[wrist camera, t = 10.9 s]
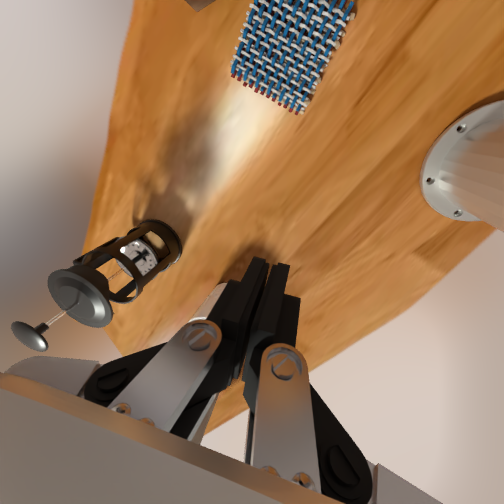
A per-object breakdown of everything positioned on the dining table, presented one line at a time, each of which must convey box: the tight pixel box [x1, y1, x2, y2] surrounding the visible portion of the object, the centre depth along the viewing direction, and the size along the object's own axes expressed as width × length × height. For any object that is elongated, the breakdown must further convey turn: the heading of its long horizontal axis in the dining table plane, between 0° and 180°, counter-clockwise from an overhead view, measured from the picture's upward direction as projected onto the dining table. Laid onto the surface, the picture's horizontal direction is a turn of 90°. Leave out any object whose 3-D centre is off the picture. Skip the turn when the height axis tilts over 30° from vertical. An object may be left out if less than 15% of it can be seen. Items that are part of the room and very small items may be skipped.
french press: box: [11, 219, 182, 352], centre depth 33 cm, size 12×9×23 cm
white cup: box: [188, 283, 227, 323], centre depth 41 cm, size 8×8×10 cm
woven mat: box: [230, 0, 355, 115], centre depth 25 cm, size 10×11×2 cm
